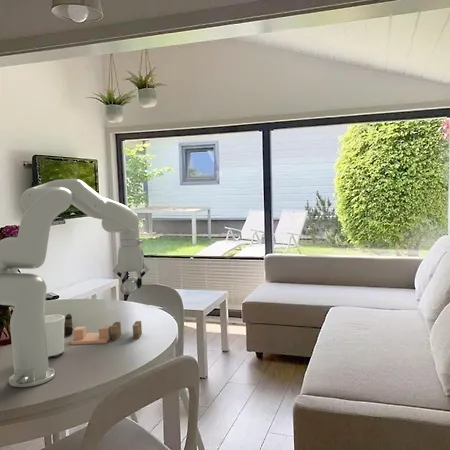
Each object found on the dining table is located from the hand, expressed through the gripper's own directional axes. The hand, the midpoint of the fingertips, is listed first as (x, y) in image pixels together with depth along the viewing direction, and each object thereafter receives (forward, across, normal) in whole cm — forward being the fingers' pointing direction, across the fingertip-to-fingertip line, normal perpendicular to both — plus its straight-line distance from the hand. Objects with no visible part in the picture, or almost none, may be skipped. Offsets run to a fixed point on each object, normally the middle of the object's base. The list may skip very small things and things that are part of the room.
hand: (132, 287), depth 185 cm
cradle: (+16, +12, +15) cm, 25 cm away
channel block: (+16, 0, +14) cm, 21 cm away
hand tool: (+16, +27, +1) cm, 32 cm away
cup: (+17, +22, +30) cm, 41 cm away
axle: (+1, 0, +3) cm, 3 cm away
